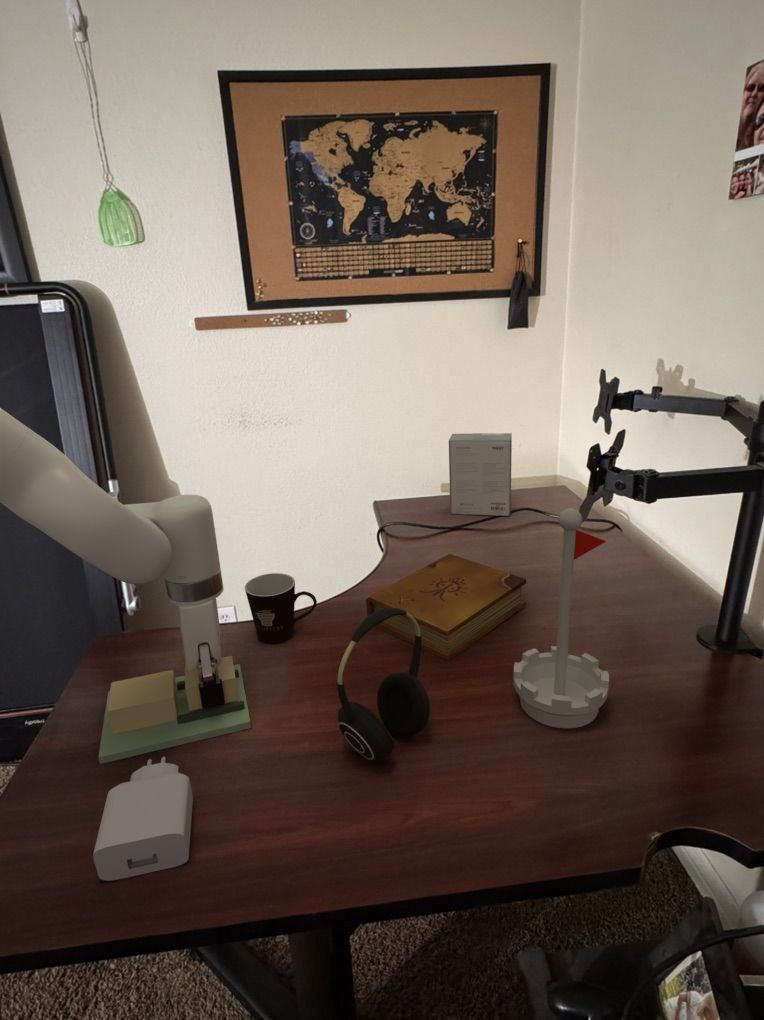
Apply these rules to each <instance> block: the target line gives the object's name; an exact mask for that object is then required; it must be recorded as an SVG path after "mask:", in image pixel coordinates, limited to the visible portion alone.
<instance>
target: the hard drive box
mask: <svg viewBox="0 0 764 1020" xmlns="http://www.w3.org/2000/svg"><path fill="white" fill-rule="evenodd" d="M512 436H513V435H512V433H511V432H509V433H508V432H507V433H506V432H495V433H493V432H490V433H488V432H485V433H484V432H482V433H481V432H479V433H478V432H477V433H475V432H474V433H452V434H451V435H450V437H449V439H448V466H449V467H448V468H449V469H448V470H449V514H450V515H464V516H466V515H467V516H468V515H471V516H492V517H499V516H500V517H510V516H511V512H512V511H511V510H512V452H513V451H512V445H513V444H512V440H513V439H512V438H513V437H512Z"/></svg>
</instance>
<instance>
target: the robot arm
mask: <svg viewBox="0 0 764 1020" xmlns="http://www.w3.org/2000/svg"><path fill="white" fill-rule="evenodd" d="M0 504H1V505H3V506H4V507H5V508H6V509H8V510H9V511H10V512H12V513H13V514H15V515H16V516H18V517H19V518H21V519H22V520H23V521H25V522H27V523H28V524H30V525H31V526H33V527H35V528H36V529H38V530H39V531H41V532H43V533H44V534H45V535H47V536H48V537H49V538H51V539H52V540H53V541H55V542H56V543H58V544H60V545H61V546H63V547H64V548H65V549H67V550H69V552H72V553H73V554H74V555H76V556H78V557H79V558H81V559H82V560H84V561H86V562H88V563H89V564H90V565H92V566H94V567H96V568H97V569H99V570H101V571H102V572H104V574H105V573H106V574H107V575H108V576H111V577H112V578H114V579H115V580H117V581H119V582H123V583H126V584H129V585H145V584H149V583H151V582H153V581H156V580H157V579H159V578H160V577H161V576H163V578H164V583H165V588H166V589H165V590H166V594H167V599H168V602H170V603H171V604H174V605H176V606H177V607H176V610H177V617H178V618H177V619H178V625H179V630H180V636H181V642H182V648H183V655H184V661H185V665H186V669H187V670H189V671H191V670H194V669H196V666H197V670H198V676H199V684H198V686H199V692H200V698H201V703H202V708H209V707H214V706H218V705H223V704H224V703H225V699H224V692H223V686H222V680H221V679H219V672H218V666H217V663H218V665H219V664H220V663H221V658H222V642H221V641H222V639H221V628H220V616H219V610H218V601H217V598H218V597H219V596H221V595H222V593H223V592H224V588H225V587H224V582H223V575H222V569H221V562H220V555H219V549H218V541H217V535H216V528H215V520H214V514H213V509H212V505H211V502H210V501H209V500H208V499H207V498H206V497H204V496H202V495H198V494H179V495H174V496H170V497H167V498H164V499H163V500H161V501H154V502H143V503H129V504H128V503H127V504H126V503H125V504H123V503H121V502H120V501H119V500H117V499H116V498H115V497H113V496H112V495H111V494H109V493H108V492H107V491H105V490H104V489H103V488H102V487H100V486H99V485H98V484H97V483H95V481H93V480H92V479H91V478H89V477H88V476H87V475H86V474H85V473H84V472H83V471H82V470H81V469H80V468H78V466H77V465H76V464H75V463H74V462H73V461H72V460H71V459H70V458H69V457H68V456H67V455H66V454H64V453H63V452H62V451H61V450H59V449H58V448H57V447H56V446H55V445H53V444H52V443H51V442H49V440H47V439H46V438H44V437H42V436H41V435H39V434H38V433H37V432H35V431H34V430H33V429H31V428H30V427H28V426H27V425H25V424H24V423H22V422H21V421H19V420H18V419H17V418H15V417H14V416H13V415H11V414H10V413H8V412H7V411H6V410H4V409H3V408H1V407H0ZM210 660H214V661H210ZM199 662H201V664H200V663H199ZM211 667H214V672H215V674H214V673H212V668H211ZM202 672H203V675H202Z"/></svg>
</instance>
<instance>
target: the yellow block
mask: <svg viewBox="0 0 764 1020" xmlns="http://www.w3.org/2000/svg"><path fill="white" fill-rule="evenodd" d="M210 661H214V660H210ZM199 663H200V664H201V662H199ZM234 665H235V664H234V660H233V656H232V655H228V656H223V657H221V663H220V664H219V665H218V663H217V666H218V672H219V679H221V680H222V686H223V692H224V699H225V703H229V702H234V701H238V700H239V698H238V691H237V684H236V677H235V671H234ZM211 668H212V673H214V674H215V672H214V667H211ZM202 675H203V672H202ZM184 676H185V689H186V695H187V700H188V706H189V711H193V710H198V709H202V703H201V698H200V692H199V686H198V684H199V676H198V670H197V666H196V669H194V670H191V671H189V670H187V669H186V664H185V665H184ZM225 703H224V704H225Z"/></svg>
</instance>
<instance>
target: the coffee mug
mask: <svg viewBox="0 0 764 1020" xmlns="http://www.w3.org/2000/svg"><path fill="white" fill-rule="evenodd" d="M244 591H245V594H246V599H247V603H248V606H249V609H250V613H251V617H252V620H253V624H254V629H255V632H256V635H257V639H258V641H259V642H261V643H263V644H265V645H278V644H283V643H286V642H287V641H289V640H290V639H291V638H293V636H294V634H295V625H296V622H298V621H300V620H302V619H303V618H305V617H307V616H309V615H310V614H311V613H312V612H314V610H315V609H316V607H317V604H318V601H317V599H316V596H315V594H313V593H311V592H309V591H305V590H303V591H298V592H297V593H296V580H295V578H294V577H293V576H291V575H289V574H287V573H281V572H279V573H278V572H271V573H265V574H261V575H257V576H256V577H253V578H251V579H249V580H248V581H247V582H246V584H245V585H244ZM302 596H306V597H307V596H308V597H309V598H310V599H311V600H312V602H313V605H312V607H311V608H310V609H309V610H307V611H305V612H304V613H302V614H299V615H298V616H297V617H295V606H296V605H295V603H296V602H297V600H298V598H299V597H302Z"/></svg>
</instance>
